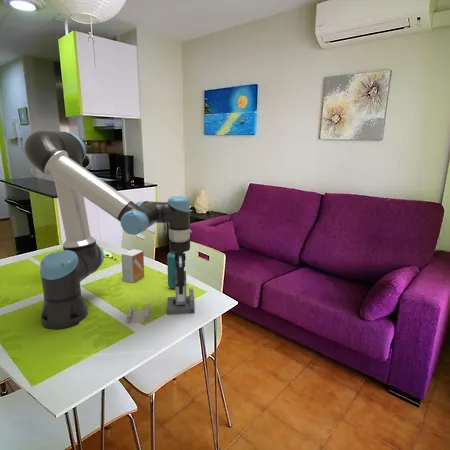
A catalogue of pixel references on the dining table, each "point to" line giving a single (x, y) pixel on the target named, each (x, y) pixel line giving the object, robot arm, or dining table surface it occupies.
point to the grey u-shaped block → (138, 315)
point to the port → (181, 309)
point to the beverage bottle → (171, 269)
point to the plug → (184, 287)
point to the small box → (132, 265)
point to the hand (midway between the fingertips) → (180, 298)
